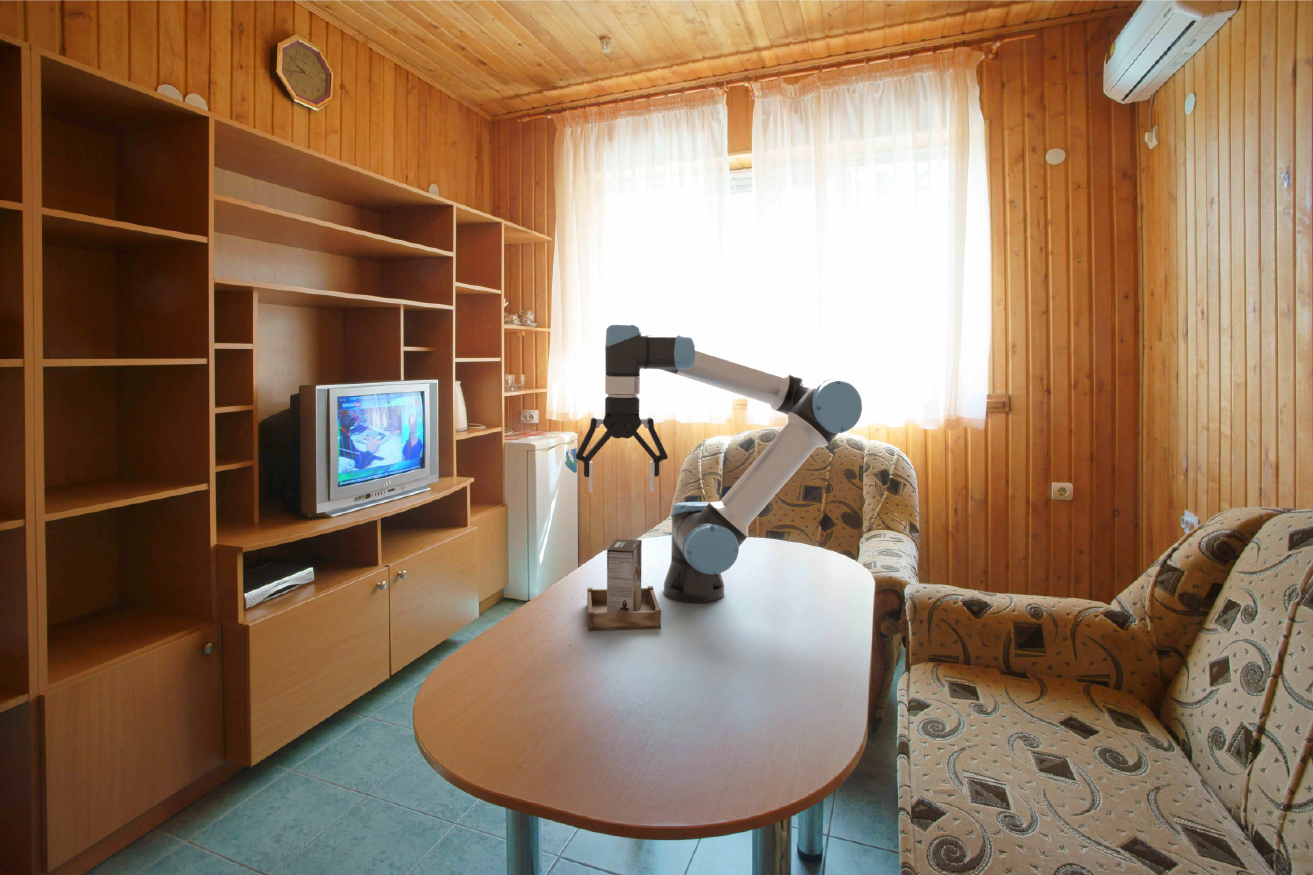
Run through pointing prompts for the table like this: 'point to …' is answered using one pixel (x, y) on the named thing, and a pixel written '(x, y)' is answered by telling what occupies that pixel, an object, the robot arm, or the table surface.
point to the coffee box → (624, 575)
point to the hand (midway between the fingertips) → (621, 491)
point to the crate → (622, 620)
